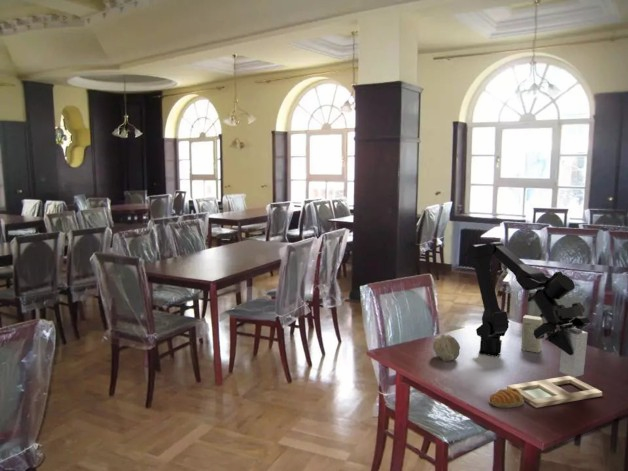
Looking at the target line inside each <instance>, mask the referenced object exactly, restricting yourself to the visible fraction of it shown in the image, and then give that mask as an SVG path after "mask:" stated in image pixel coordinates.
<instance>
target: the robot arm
mask: <svg viewBox="0 0 628 471" xmlns="http://www.w3.org/2000/svg"><path fill="white" fill-rule="evenodd" d="M465 252H466V254H465V255H466V257H467V261H468V263H469V264H470V266H471V267H472V268H473V269H474V270H475V273H476V274H475V275H476V278H477V283H478V287H479V288H478V289H479V291H480V296H481V300H482V306H483V309H484V310H483V312H482V317H481V323H482V324H481V325H479V327H477V328H476V329H475V332H476V335H477V336H478V337H480V341H479V342H480V346H479V351H478V353H479V354H481V355H487V356H491V357H499V355H500V354H501V352H502V344H503V343H502V340H501V337H504V336H505V335H506V333H507V332H508V329H509V326H510V325H509V324H510V320H509V318H508V313H507V311H503V310H502V309H501V308H500V305H499V301H498V298H497V293H496V290H495V285H494V281H493V276H492V272H491V268H490V267H491V265H492V261H493V257H494V258H495V259H496V260H498V261H499V262H500V263H501V264H502V265H504V266H505V267H506V269H508V270H509V272H511V273H512V274H513V275H514V277H515V281H516V283H518V285H520V287H521V288H522V289H523V290H524V291H534V290H536V291H535V292H529V293H528V297H527V303H531V302H534V303H535V305H536V306H537V308H538V309H539V311H540V313H541V314H540V315H539V317H541V318H543V319H544V320H545V321H546V322H544V323H543V322H542V325H540V326H539V327H537V328H536V329H535V330H534V333H533V334H534V336H535V338H536V340H538V339H542V340H543V339H545V341H548V342H550V343H551V344H553V345H554V346H556V347H558V348H559V349H560V350H561V349H562V350H563V351H564V352H566V353H567V354H569V355H573V352H572V350H571V348H570V346H569V344H568V342H567V340H566V338H565V336H564V332H565V329H570V328H578V329H580V330H582V331H583V329H584V328H585V327H587V326H589V325H590V324H591V321H590V320H589V318H588V317H587V316H584V313H585V311H586V309H585V307H584V305H583V304H582V303H581V301H580V302H573V303H572V304H571V306H570V307H565V305H563V304H559V302H558V301H557V300H562V299H563V298H564V297H565V296H566V295H568V294H569V293H570V292H572V291H573V290H574V289H575V288H576V287H575V282H574V280H572V279H571V278H570V277H568V276H567V275H565V274H563V272H562V271H556V272H554V273H553V274H552V275H551V277H549V276H546V274H545V273H544V272H543V271H541V270H540V269H538V268H536V267H533V266H530V265H528V264H526V263H525V262H524V261H523V260H521V259H520V258H519V257H518V256H516V254H514V253H513V252H512V251H511V250H510V249H509V248H508V247H506V246H505V244H504V243H503V242H502V241H494V242H489V243H481V244H479V243H478V244H470V245H469V246H468V247H467V249H466V251H465ZM545 335H546V336H547V337H546V338H545Z"/></svg>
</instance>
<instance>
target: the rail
mask: <svg viewBox="0 0 628 471" xmlns="http://www.w3.org/2000/svg"><path fill="white" fill-rule="evenodd" d="M565 384H571V385H573V386H574V387H577V388H579V389H580V391H574V392H570V391H567V390H565V389H564V388H562V387H560V386H561V385H565ZM510 388H515V389H517V390H519V391H520V393H521V395H522V397H523V400H524V402H527V404H529V405H531V406H533V407H535V408H542V407H546V406H552V405H559V404H564V403H569V402H575V401H580V400H582V401H583V400H585V399H592V398H598V397H603V391H601V390H600V389H598V388H596V387H593V386H592V385H590V384H588V383H586V382H583V381H582V380H580V379H578V378H576V377H571V376H569V375H565V376H560V377H553V378H546V379H539V380H533V381H528V382H521V383H514V384H507V385H506V389H510ZM581 390H582V391H581Z"/></svg>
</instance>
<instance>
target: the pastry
mask: <svg viewBox="0 0 628 471" xmlns="http://www.w3.org/2000/svg"><path fill="white" fill-rule="evenodd" d="M488 403H489V404H490V405H492V406H495V408H501V409H502V408H507V409H509V408H514V407H515V408H516V407H520V406H522V405H524V403H525V400H523V397H522V395H521V393H520V391H519V390H517V389H515V388H510V389H507V388H503V389H502V388H501V389H499V390H498V391H496V392H494V393H493V394H492V395H491V396H490V397H489V401H488Z"/></svg>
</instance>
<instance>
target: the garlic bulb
mask: <svg viewBox="0 0 628 471" xmlns="http://www.w3.org/2000/svg"><path fill="white" fill-rule="evenodd" d="M432 343H433V346H432V347H433V350H434V353H435V355H436V356H438V357H439V358H440V359H441V360H443V361H446V362H450V361H455V360H457V358H458V357H459V356H460V349H461V345H460V343H459V342H458V341H457V339H456V338H455V337H454V336H452V335H451V334H447V333H442V334H440V335H438V336H437V337H435V339H434V341H433V342H432Z"/></svg>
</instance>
